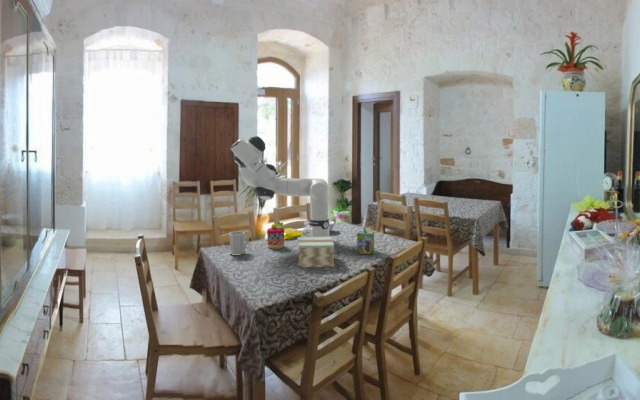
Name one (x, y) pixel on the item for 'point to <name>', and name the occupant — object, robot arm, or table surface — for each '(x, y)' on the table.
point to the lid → (315, 242)
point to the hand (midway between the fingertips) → (277, 184)
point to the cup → (238, 242)
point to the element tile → (291, 233)
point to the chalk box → (365, 242)
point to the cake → (276, 236)
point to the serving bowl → (331, 225)
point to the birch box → (316, 257)
